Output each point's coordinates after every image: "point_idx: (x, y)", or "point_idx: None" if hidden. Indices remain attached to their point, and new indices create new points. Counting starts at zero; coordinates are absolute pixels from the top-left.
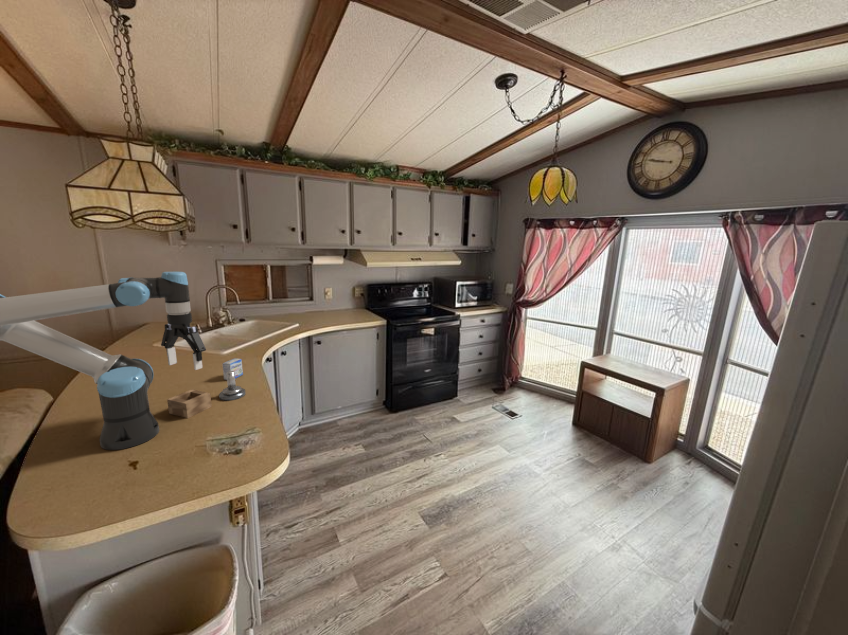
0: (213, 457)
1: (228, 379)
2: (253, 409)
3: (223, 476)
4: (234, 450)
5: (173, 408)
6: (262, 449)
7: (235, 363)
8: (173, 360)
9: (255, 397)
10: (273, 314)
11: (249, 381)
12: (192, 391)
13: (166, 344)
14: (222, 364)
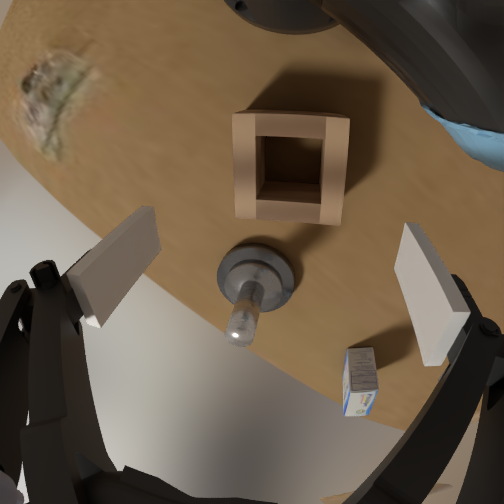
0: (42, 48)
1: (241, 308)
2: None
3: (8, 41)
4: (31, 83)
5: (315, 113)
6: (8, 115)
7: (346, 399)
8: (406, 264)
9: (185, 281)
10: (444, 488)
11: (291, 353)
12: (319, 209)
13: (485, 356)
14: (378, 386)
